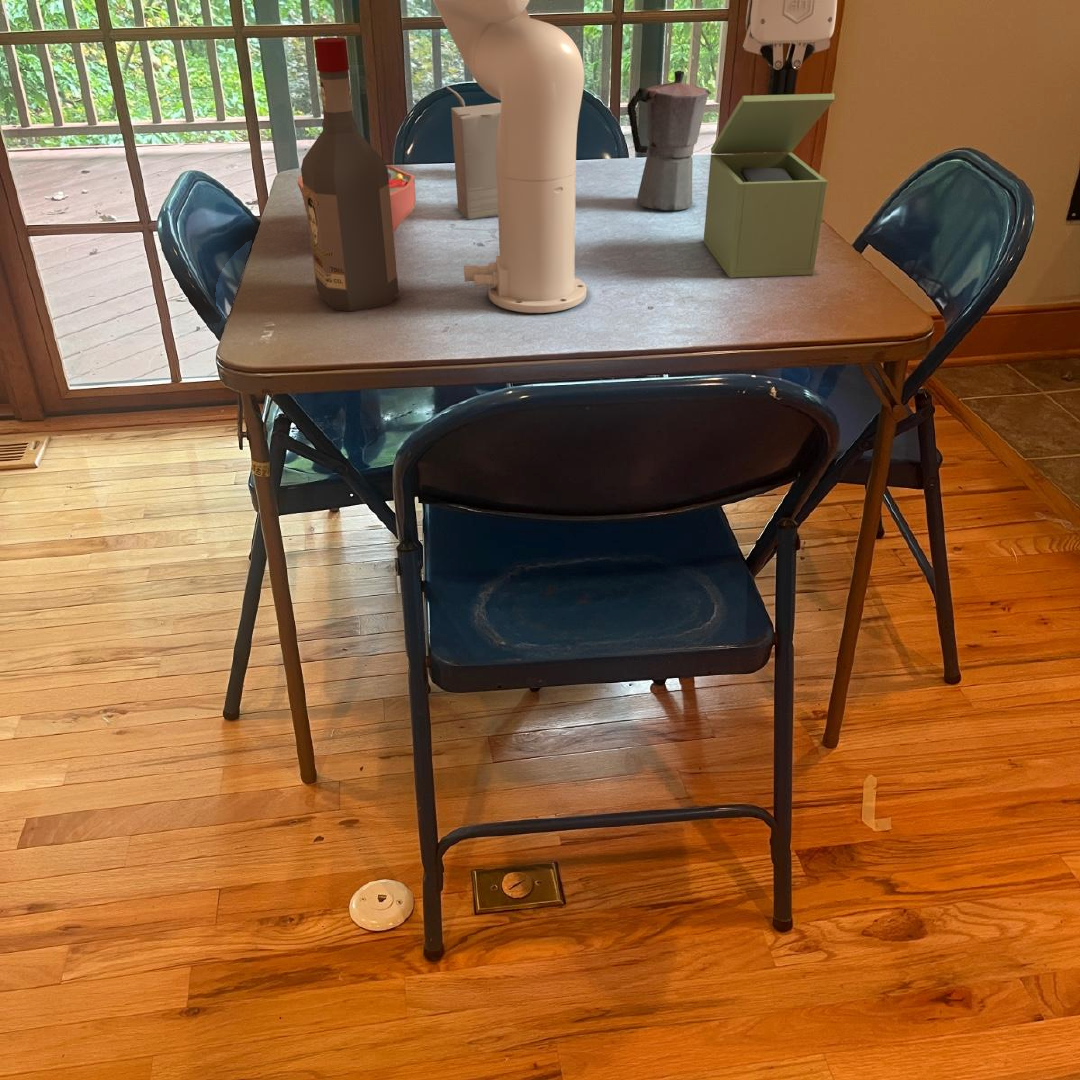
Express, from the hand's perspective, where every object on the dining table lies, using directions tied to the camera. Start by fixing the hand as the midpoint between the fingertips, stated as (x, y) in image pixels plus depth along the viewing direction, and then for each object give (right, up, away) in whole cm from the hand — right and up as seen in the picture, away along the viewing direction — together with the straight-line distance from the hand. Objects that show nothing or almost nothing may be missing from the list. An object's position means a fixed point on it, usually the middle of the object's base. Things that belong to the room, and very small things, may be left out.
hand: (780, 101), depth 128 cm
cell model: (-57, -11, +23) cm, 63 cm away
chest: (0, -16, +13) cm, 21 cm away
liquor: (-54, -25, +1) cm, 60 cm away
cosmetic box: (-39, -4, +32) cm, 51 cm away
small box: (0, -16, +12) cm, 20 cm away
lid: (0, -2, +4) cm, 5 cm away
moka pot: (-11, -2, +35) cm, 37 cm away
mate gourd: (-41, +9, +51) cm, 66 cm away
